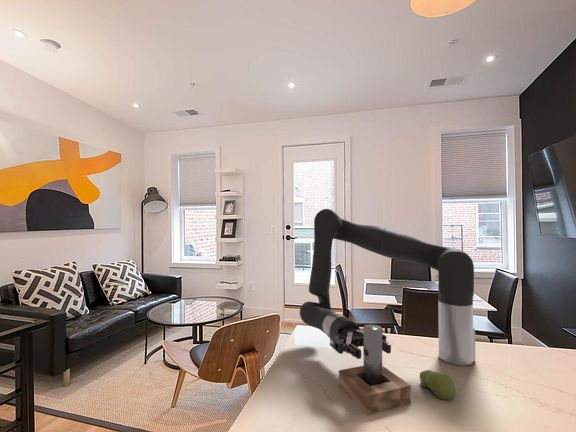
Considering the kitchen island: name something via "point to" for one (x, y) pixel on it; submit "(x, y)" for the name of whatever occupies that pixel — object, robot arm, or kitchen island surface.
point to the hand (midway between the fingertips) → (375, 352)
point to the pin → (372, 354)
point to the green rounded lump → (439, 383)
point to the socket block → (374, 390)
